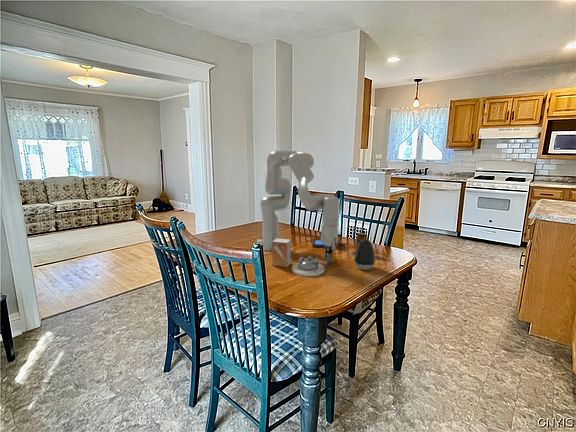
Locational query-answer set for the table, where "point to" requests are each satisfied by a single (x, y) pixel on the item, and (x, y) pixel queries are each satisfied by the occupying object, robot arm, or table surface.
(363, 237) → the condiment
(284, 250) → the small box
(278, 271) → the table surface
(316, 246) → the handheld game console
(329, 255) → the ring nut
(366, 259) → the pump dispenser
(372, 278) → the table surface
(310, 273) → the cap plate
